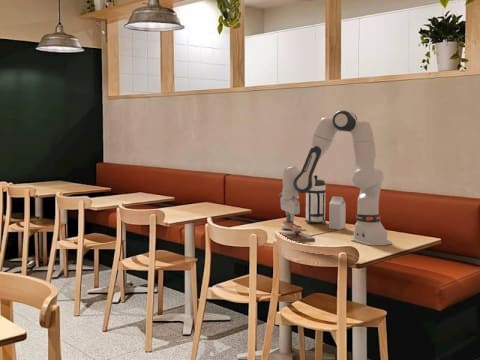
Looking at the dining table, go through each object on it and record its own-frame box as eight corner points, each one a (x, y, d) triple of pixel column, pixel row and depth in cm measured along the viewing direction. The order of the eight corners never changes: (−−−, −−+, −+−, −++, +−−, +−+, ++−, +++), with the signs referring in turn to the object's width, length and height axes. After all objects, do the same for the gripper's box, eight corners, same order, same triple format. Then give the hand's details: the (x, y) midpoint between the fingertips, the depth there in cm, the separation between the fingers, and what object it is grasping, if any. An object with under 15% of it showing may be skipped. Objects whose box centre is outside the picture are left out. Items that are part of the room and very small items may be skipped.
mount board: (314, 241, 317) (314, 233, 316) (293, 242, 313) (294, 234, 313) (298, 233, 338) (298, 226, 337) (279, 235, 334) (279, 227, 334)
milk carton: (339, 230, 349) (340, 197, 347) (329, 228, 353) (329, 197, 351) (345, 228, 354) (345, 196, 352) (334, 227, 359) (335, 195, 357)
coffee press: (297, 223, 373) (297, 175, 370) (314, 220, 384) (314, 173, 381) (318, 226, 361) (319, 177, 358) (335, 223, 371) (335, 175, 368)
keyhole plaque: (306, 230, 321) (306, 222, 320) (294, 231, 319) (294, 222, 318) (294, 222, 337) (294, 213, 336) (282, 223, 335) (283, 214, 334)
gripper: (302, 197, 323) (302, 222, 324) (288, 193, 342) (288, 216, 344) (292, 198, 321) (291, 223, 323) (278, 193, 341) (278, 217, 342)
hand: (290, 220), depth 333 cm, fingers closed on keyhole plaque, 3 cm apart
